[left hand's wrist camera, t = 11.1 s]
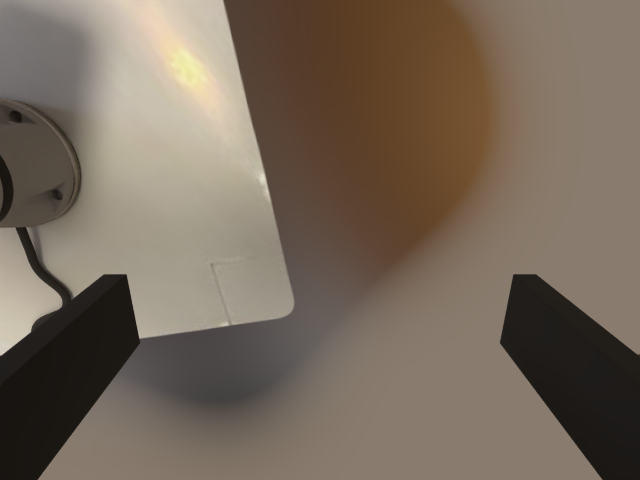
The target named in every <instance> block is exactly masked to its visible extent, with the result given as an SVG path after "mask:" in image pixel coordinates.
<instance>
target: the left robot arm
mask: <svg viewBox="0 0 640 480" xmlns="http://www.w3.org/2000/svg"><path fill="white" fill-rule="evenodd" d="M79 187H80V168H79V163H78V159H77V156H76V154H75V151H74V149H73V147H72V145H71V143H70V142H69V140H68V139H67V137H66V136H65V134H64V133H63V132H62V130H61V129H60V128H59V127H58V126H57V125H56V124H55V123H54V122H53V121H52V120H51V119H49V118H48V117H47V116H46V115H44V114H43V113H41V112H40V111H38V110H36V109H35V108H33V107H30V106H28V105H26V104H23V103H20V102H17V101H13V100H6V99H0V228H2V227H15V228H16V230H17V233H18V235H19V237H20V240H21V242H22V245H23V247H24V250H25V252H26V255H27V258H28V261H29V263H30V265H31V267H32V269H33V270H34V272H35V273H36V274H37V275H38V277H39V278H41V279H42V280H43V281H44V282H45V283H46V284H48V285H49V286H50V287H52V288H53V289H54V290H55V291H56V292H58V294H59V295H60V296H61V298H62V302H63V304H62V307H61V308H60V309H59V310H57V311H55V312H53V313H50V314H47V315H45V316H43V317H41V318H39V319H38V320H36V321H35V323H34V324H33V326H32V329H31V333H29V334H28V335H27V336H26V337H24V338H23V339H22V340H21V341H19V342H18V343H17V344H16V345H14V346H13V347H12V348H11V349H9V350H8V351H7V352H5V353H4V354H3V355H2V356H0V480H38V478H39V477H40V476H41V474H42V473H43V472H44V470H45V469H46V468H47V466H48V465H49V464H50V462H51V461H52V460H53V458H54V457H55V456H56V454H57V453H58V452H59V450H60V449H61V448H62V446H63V445H64V444H65V442H66V441H67V440H68V438H69V437H70V436H71V434H72V433H73V432H74V430H75V429H76V428H77V426H78V425H79V424H80V422H81V421H82V420H83V418H84V417H85V416H86V414H87V413H88V412H89V410H90V409H91V408H92V406H93V405H94V404H95V402H96V401H97V400H98V398H99V397H100V396H101V394H102V393H103V392H104V390H105V389H106V388H107V386H108V385H109V384H110V382H111V381H112V380H113V378H114V377H115V376H116V374H117V373H118V372H119V370H120V369H121V368H122V366H123V365H124V364H125V362H126V361H127V360H128V358H129V357H130V356H131V354H132V353H133V352H134V350H135V349H136V348H137V346H138V345H139V344H140V340H139V335H138V330H137V325H136V320H135V315H134V310H133V305H132V300H131V295H130V289H129V284H128V279H127V274H104V275H103V276H101V277H100V278H99V279H98V280H96V281H95V282H94V283H93V284H91V285H90V286H89V287H87V288H86V289H85V290H84V291H82V292H81V293H80V294H79V295H77V296H76V297H75V298H74V299H72V300H71V298H70V295H69V293H68V292H67V290H66V289H65V288H64V287H63V286H62V285H61V284H60V283H58V282H57V281H56V280H54V279H53V278H52V277H51V276H49V275H48V274H47V273H46V272H45V271H44V269H43V268H42V267H41V265H40V263H39V261H38V259H37V256H36V253H35V250H34V247H33V244H32V242H31V239H30V237H29V234H28V232H27V229H26V227H30V226H36V225H40V224H44V223H47V222H49V221H51V220H54V219H56V218H58V217H59V216H61V215H63V214H64V213H65V212H66V211H67V210H68V209H69V208H70V207H71V206H72V204H73V203H74V201H75V199H76V197H77V195H78V192H79ZM500 344H501V345H502V346H503V348H504V349H505V350H506V352H507V353H508V354H509V356H510V357H511V358H512V360H513V361H514V362H515V364H516V365H517V366H518V368H519V369H520V370H521V372H522V373H523V374H524V376H525V377H526V378H527V380H528V381H529V382H530V384H531V385H532V386H533V388H534V389H535V390H536V392H537V393H538V394H539V396H540V397H541V398H542V400H543V401H544V402H545V404H546V405H547V406H548V408H549V409H550V410H551V412H552V413H553V414H554V416H555V417H556V418H557V420H558V421H559V422H560V424H561V425H562V426H563V428H564V429H565V430H566V432H567V433H568V434H569V436H570V437H571V438H572V440H573V441H574V442H575V444H576V445H577V446H578V448H579V449H580V450H581V452H582V453H583V454H584V456H585V457H586V458H587V460H588V461H589V462H590V464H591V465H592V466H593V468H594V469H595V470H596V472H597V473H598V474H599V476H600V477H601V478H602V480H640V354H639V355H637V354H636V353H634V352H633V351H632V350H631V349H629V348H628V347H627V346H626V345H624V344H623V343H622V342H620V341H619V340H618V339H617V338H616V337H614V336H613V335H612V334H610V333H609V332H608V331H607V330H605V329H604V328H603V327H602V326H600V325H599V324H598V323H597V322H595V321H594V320H593V319H592V318H590V317H589V316H588V315H586V314H585V313H584V312H583V311H582V310H580V309H579V308H578V307H576V306H575V305H574V304H573V303H571V302H570V301H569V300H568V299H566V298H565V297H564V296H563V295H561V294H560V293H559V292H558V291H556V290H555V289H554V288H552V287H551V286H550V285H549V284H547V283H546V282H545V281H544V280H542V279H541V278H540V277H539V276H537V275H536V274H514V275H513V279H512V284H511V290H510V295H509V300H508V305H507V310H506V315H505V320H504V325H503V330H502V335H501V340H500Z"/></svg>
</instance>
